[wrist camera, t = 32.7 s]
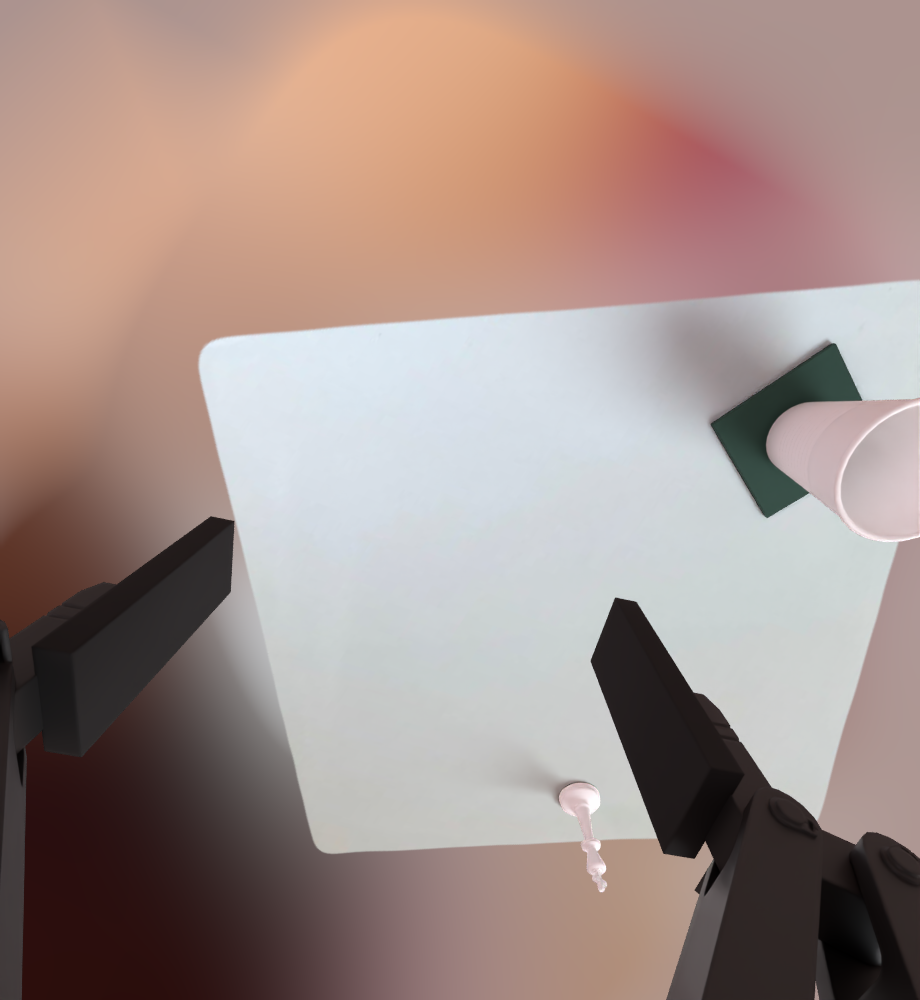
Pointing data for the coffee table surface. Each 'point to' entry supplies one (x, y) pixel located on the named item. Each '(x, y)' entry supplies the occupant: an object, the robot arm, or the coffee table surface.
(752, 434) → the mat
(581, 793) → the chess piece
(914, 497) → the cup
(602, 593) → the coffee table surface
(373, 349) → the coffee table surface
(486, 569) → the coffee table surface
